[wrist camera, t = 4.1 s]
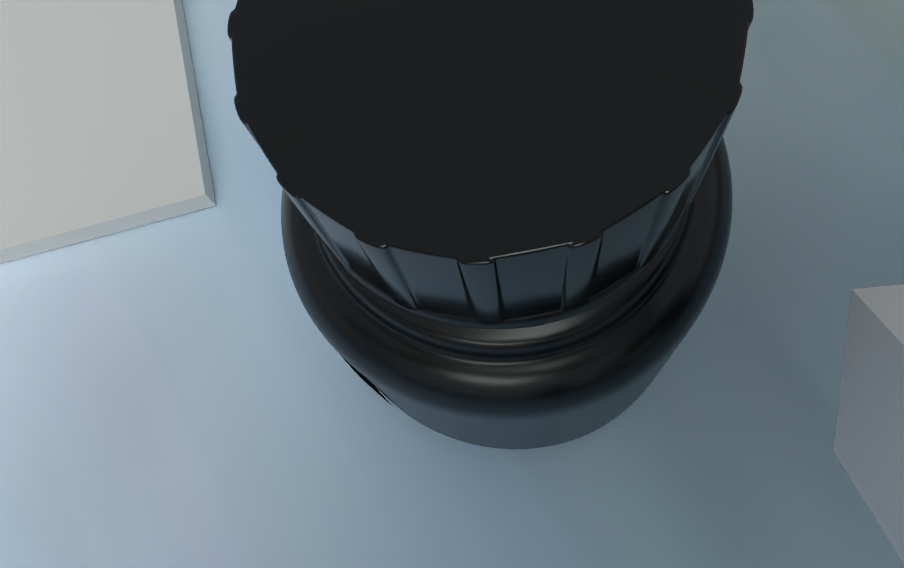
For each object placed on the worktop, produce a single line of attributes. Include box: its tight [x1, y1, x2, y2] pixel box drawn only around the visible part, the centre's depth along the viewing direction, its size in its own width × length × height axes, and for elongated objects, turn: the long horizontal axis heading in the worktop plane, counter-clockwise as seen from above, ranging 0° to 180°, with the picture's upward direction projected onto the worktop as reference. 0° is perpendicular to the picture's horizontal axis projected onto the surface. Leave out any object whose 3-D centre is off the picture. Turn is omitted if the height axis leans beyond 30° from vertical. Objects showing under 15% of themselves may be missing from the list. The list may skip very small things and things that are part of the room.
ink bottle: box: [228, 0, 754, 449], centre depth 16 cm, size 10×9×12 cm
